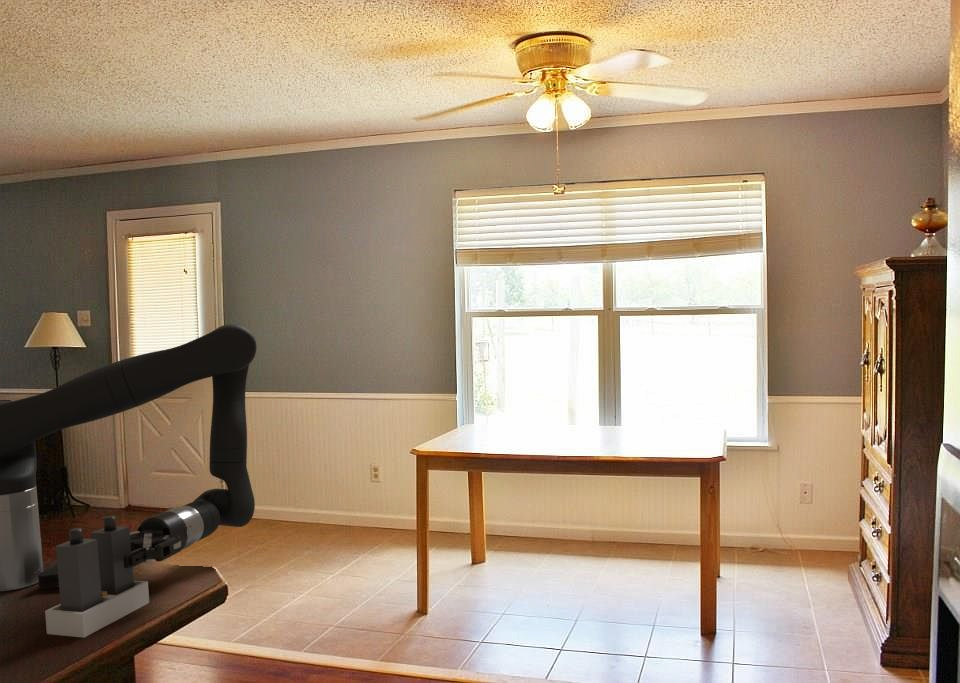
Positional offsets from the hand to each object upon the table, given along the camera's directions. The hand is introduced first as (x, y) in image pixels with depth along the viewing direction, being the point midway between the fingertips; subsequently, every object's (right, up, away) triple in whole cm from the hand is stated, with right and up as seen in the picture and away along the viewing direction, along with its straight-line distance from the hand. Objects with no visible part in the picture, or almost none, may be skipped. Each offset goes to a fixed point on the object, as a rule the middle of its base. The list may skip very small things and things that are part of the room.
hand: (103, 560), depth 130 cm
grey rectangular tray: (0, -9, -1) cm, 9 cm away
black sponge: (-14, -9, +22) cm, 27 cm away
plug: (+1, -8, +2) cm, 9 cm away
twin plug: (-1, -9, -4) cm, 10 cm away
